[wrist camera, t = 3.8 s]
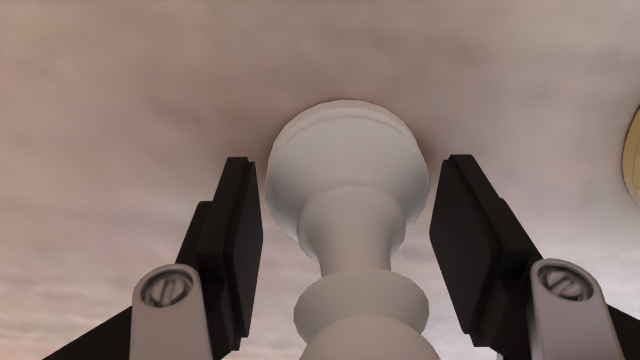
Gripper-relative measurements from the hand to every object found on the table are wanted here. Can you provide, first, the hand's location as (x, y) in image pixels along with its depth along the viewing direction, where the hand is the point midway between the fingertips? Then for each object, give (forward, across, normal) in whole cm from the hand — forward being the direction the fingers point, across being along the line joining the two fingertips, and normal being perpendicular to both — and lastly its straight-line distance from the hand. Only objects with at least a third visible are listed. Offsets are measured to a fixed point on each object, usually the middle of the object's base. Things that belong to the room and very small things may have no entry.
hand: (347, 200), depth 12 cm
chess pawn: (+2, 0, 0) cm, 2 cm away
